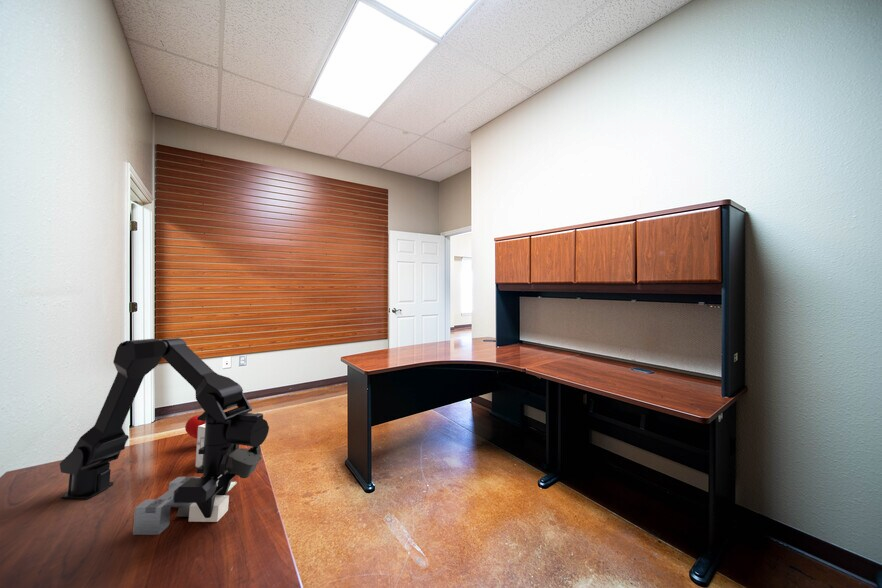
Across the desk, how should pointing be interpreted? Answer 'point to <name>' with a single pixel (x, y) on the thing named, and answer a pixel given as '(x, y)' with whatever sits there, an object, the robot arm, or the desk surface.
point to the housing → (157, 511)
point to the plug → (196, 514)
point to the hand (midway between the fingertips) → (214, 511)
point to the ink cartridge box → (200, 445)
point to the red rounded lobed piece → (193, 426)
